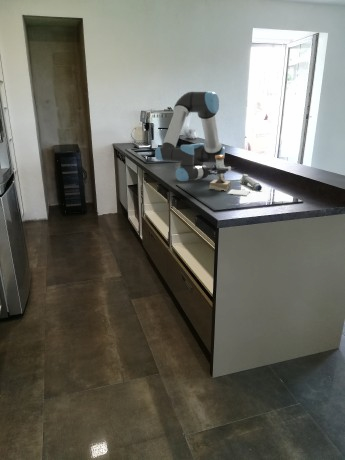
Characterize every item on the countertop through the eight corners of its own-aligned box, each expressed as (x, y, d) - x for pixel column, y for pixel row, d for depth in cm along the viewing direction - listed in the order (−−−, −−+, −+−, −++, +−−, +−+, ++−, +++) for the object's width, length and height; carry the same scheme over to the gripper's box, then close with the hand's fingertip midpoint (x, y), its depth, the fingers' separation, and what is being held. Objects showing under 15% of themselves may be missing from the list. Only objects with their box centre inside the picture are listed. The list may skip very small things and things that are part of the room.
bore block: (213, 186, 220) (214, 179, 219) (230, 187, 217) (230, 181, 215) (209, 189, 211) (209, 182, 210) (226, 191, 207) (227, 184, 206)
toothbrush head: (255, 184, 208) (240, 172, 229) (253, 195, 211) (238, 181, 233) (263, 184, 209) (247, 171, 230) (261, 195, 212) (246, 181, 234)
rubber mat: (231, 190, 209) (231, 189, 209) (249, 192, 206) (249, 191, 206) (227, 194, 200) (227, 193, 200) (246, 196, 196) (246, 195, 196)
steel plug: (217, 184, 216) (216, 155, 210) (226, 183, 214) (224, 154, 208) (215, 186, 211) (214, 156, 205) (224, 186, 210) (223, 156, 203)
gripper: (189, 176, 207) (216, 172, 221) (209, 181, 194) (237, 176, 208) (189, 163, 204) (217, 160, 218) (210, 167, 191) (238, 164, 205)
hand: (227, 168), depth 213 cm, fingers closed on steel plug, 4 cm apart
